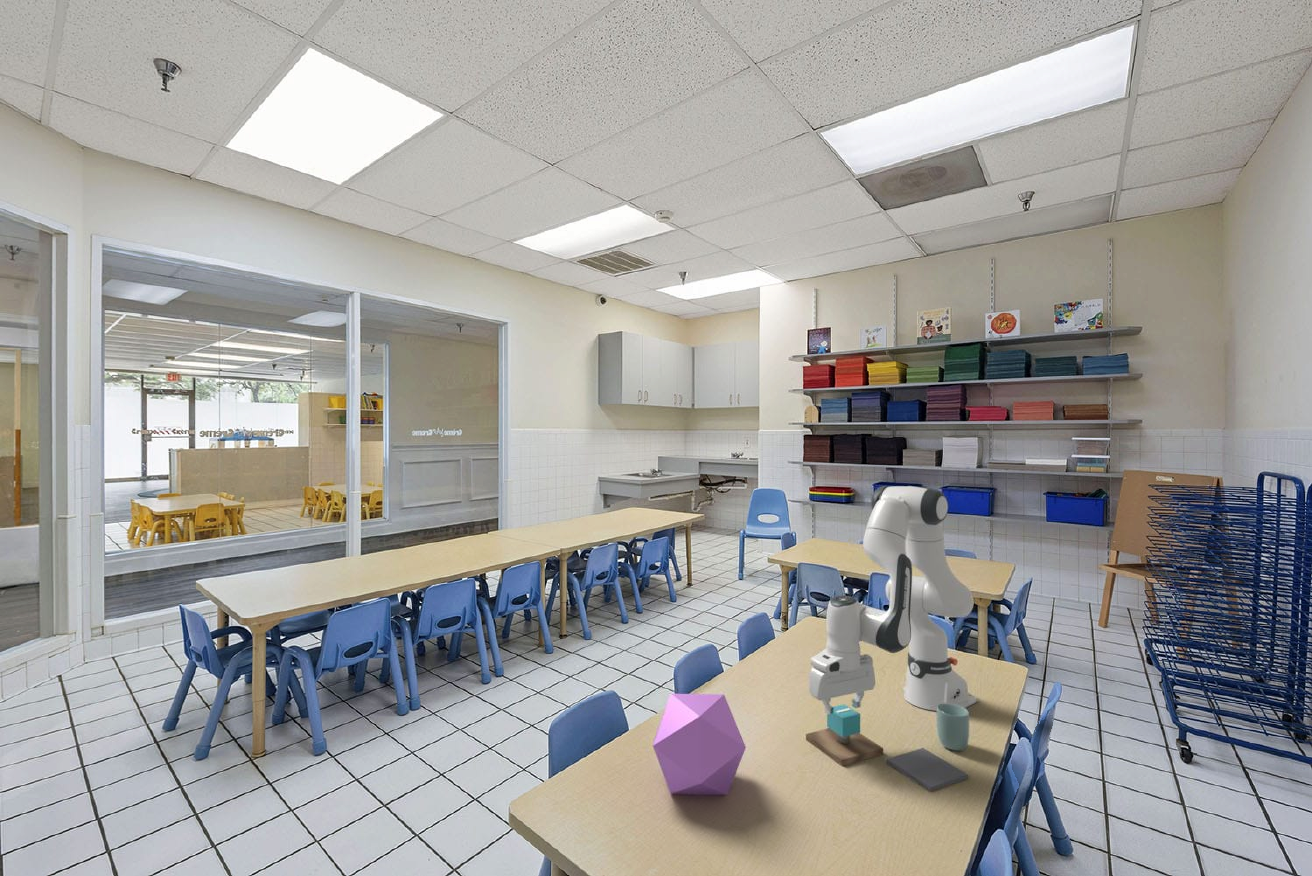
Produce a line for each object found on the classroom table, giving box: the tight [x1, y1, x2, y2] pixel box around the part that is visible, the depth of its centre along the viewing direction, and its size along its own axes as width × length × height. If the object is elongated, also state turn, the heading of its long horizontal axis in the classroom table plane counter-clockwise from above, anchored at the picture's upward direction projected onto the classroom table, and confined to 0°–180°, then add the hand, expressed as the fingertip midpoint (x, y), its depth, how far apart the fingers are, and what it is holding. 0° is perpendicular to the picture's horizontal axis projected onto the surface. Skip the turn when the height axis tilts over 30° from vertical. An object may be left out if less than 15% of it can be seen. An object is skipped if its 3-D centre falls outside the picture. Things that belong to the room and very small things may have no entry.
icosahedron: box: [652, 693, 747, 796], centre depth 133 cm, size 22×21×25 cm
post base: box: [805, 727, 884, 767], centre depth 150 cm, size 14×14×8 cm
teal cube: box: [826, 704, 861, 737], centre depth 150 cm, size 6×6×5 cm
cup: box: [936, 703, 970, 752], centre depth 150 cm, size 8×8×10 cm
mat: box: [886, 747, 969, 792], centre depth 139 cm, size 13×13×1 cm
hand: (842, 709), depth 150 cm, fingers open, 8 cm apart
